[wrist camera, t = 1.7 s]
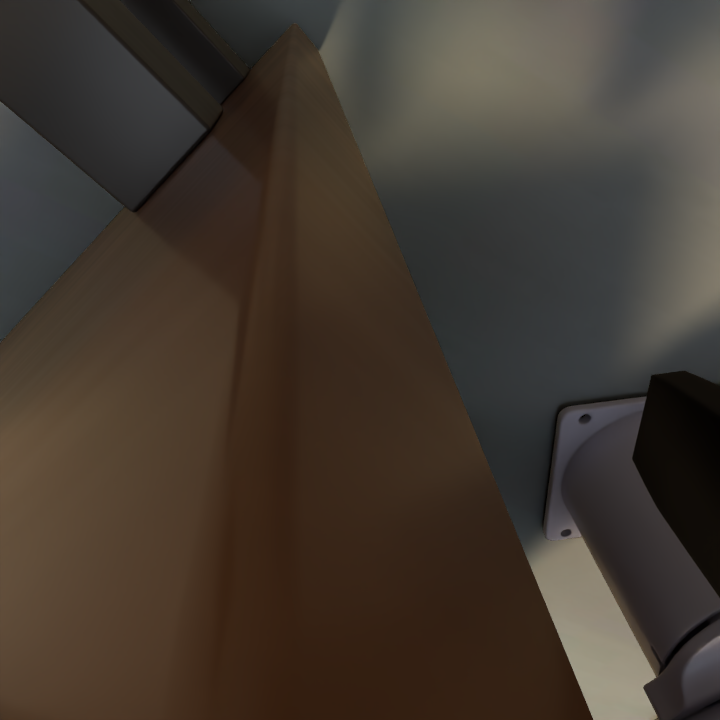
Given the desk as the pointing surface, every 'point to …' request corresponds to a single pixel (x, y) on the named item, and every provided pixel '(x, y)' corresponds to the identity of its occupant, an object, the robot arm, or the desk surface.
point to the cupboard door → (240, 414)
